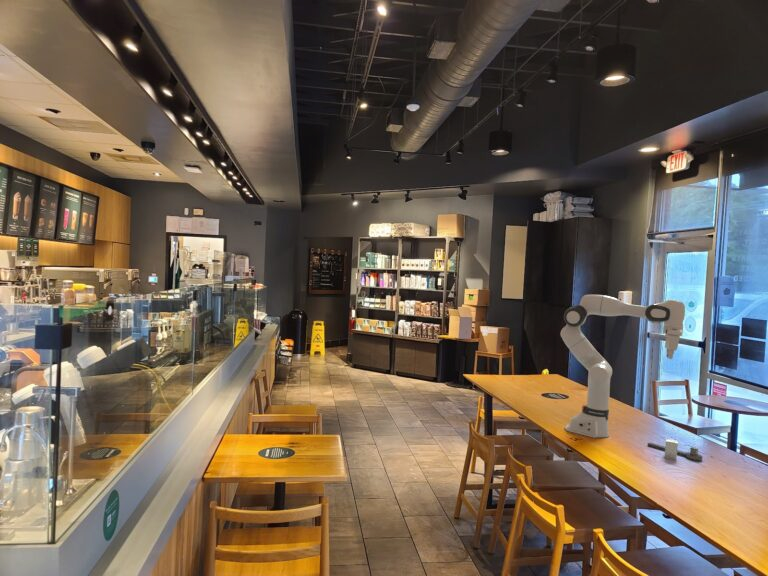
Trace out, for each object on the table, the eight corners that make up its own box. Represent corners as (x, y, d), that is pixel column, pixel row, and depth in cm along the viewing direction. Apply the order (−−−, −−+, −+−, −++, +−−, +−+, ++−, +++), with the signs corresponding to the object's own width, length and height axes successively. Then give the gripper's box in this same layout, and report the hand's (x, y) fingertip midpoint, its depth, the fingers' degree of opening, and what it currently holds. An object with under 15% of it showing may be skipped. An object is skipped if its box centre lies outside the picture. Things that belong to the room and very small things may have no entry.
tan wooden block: (664, 457, 254) (666, 441, 253) (664, 454, 258) (666, 438, 258) (676, 459, 251) (677, 443, 251) (676, 456, 256) (677, 440, 255)
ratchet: (704, 459, 255) (705, 448, 255) (699, 462, 250) (700, 451, 250) (651, 444, 273) (652, 434, 273) (645, 446, 268) (646, 436, 268)
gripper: (663, 330, 279) (660, 356, 279) (667, 330, 260) (664, 358, 260) (677, 331, 276) (673, 358, 276) (682, 332, 258) (678, 360, 258)
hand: (669, 358), depth 268 cm, fingers open, 8 cm apart
